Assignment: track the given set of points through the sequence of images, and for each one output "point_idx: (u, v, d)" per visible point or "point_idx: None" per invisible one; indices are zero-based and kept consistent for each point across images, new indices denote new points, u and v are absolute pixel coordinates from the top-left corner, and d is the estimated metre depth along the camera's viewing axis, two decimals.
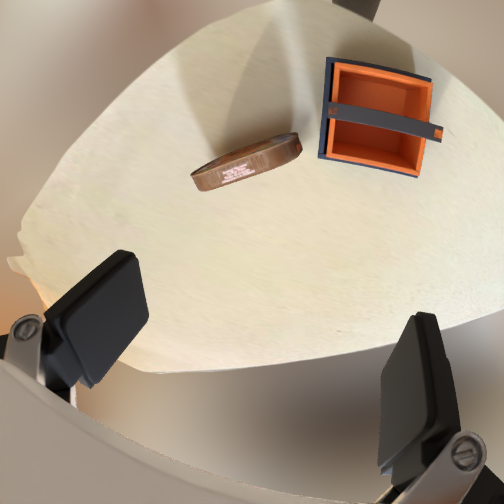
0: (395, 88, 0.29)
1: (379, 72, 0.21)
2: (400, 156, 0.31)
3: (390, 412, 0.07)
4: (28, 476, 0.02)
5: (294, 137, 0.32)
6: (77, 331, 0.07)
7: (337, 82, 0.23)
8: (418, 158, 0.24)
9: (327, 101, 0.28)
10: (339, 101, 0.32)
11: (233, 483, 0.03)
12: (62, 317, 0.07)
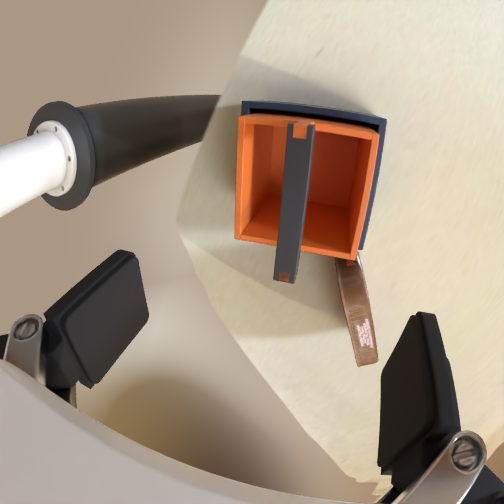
0: (274, 130, 0.28)
1: (239, 188, 0.21)
2: None
3: (390, 412, 0.07)
4: (28, 476, 0.02)
5: (337, 266, 0.28)
6: (77, 331, 0.07)
7: (259, 239, 0.23)
8: (353, 135, 0.17)
9: None
10: None
11: (233, 483, 0.03)
12: (62, 317, 0.07)
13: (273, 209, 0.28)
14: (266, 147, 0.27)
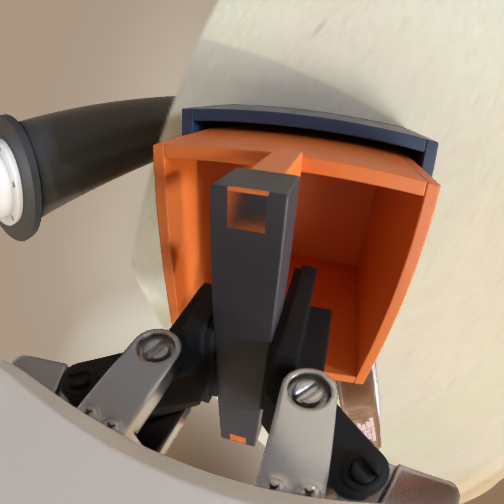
0: None
1: (169, 273, 0.12)
2: None
3: None
4: (28, 476, 0.02)
5: None
6: None
7: None
8: (386, 186, 0.08)
9: None
10: None
11: (233, 483, 0.03)
12: (206, 329, 0.07)
13: None
14: None
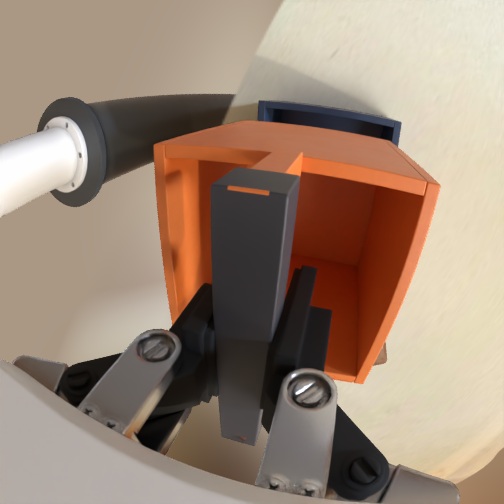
0: None
1: (169, 273, 0.12)
2: None
3: None
4: (28, 476, 0.02)
5: None
6: None
7: None
8: (386, 186, 0.08)
9: None
10: None
11: (233, 483, 0.03)
12: (206, 329, 0.07)
13: None
14: None
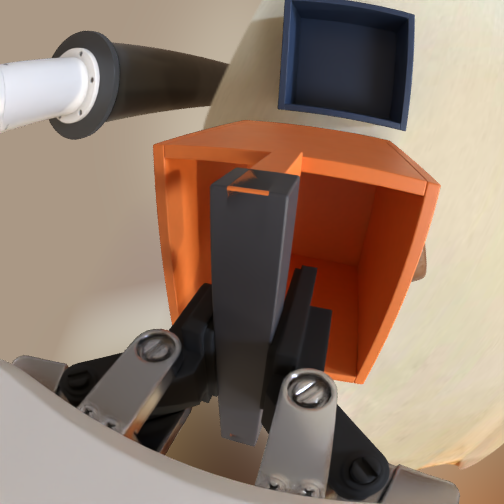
0: None
1: (169, 273, 0.12)
2: None
3: None
4: (28, 476, 0.02)
5: None
6: None
7: None
8: (386, 185, 0.08)
9: (335, 111, 0.23)
10: None
11: (233, 483, 0.03)
12: (206, 329, 0.07)
13: None
14: None
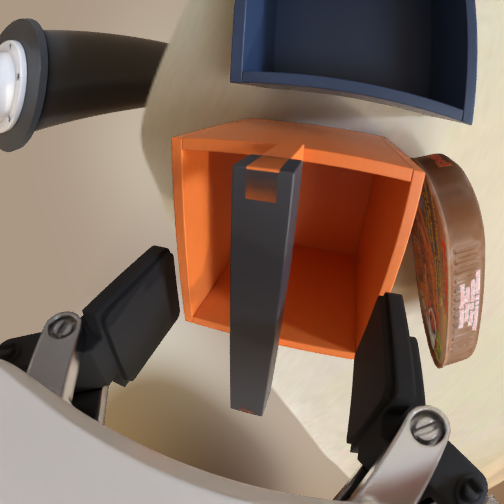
0: None
1: (183, 255, 0.13)
2: None
3: (358, 390, 0.08)
4: (28, 476, 0.02)
5: (422, 167, 0.13)
6: (117, 328, 0.07)
7: (219, 325, 0.15)
8: (377, 173, 0.09)
9: (341, 81, 0.11)
10: None
11: (233, 483, 0.03)
12: (103, 313, 0.07)
13: None
14: None
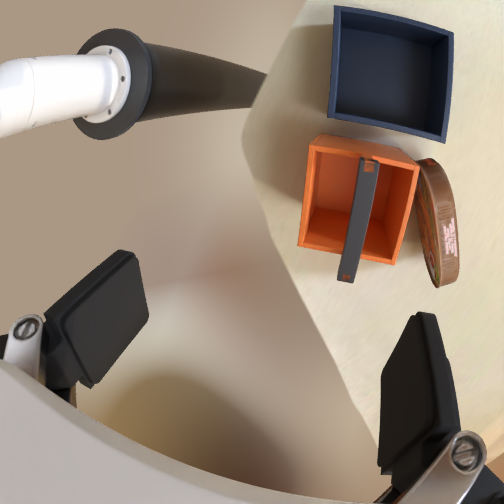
0: None
1: (306, 204, 0.26)
2: None
3: (390, 412, 0.07)
4: (28, 476, 0.02)
5: (420, 165, 0.25)
6: (77, 331, 0.07)
7: (319, 246, 0.27)
8: (400, 166, 0.21)
9: (382, 122, 0.23)
10: (341, 210, 0.35)
11: (233, 483, 0.03)
12: (62, 317, 0.07)
13: (323, 220, 0.32)
14: (318, 166, 0.31)
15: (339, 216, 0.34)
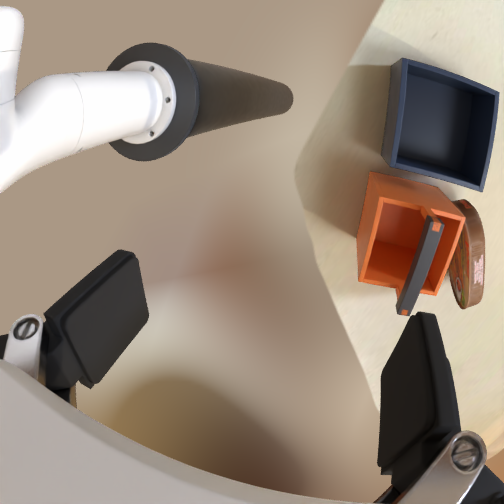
0: None
1: (370, 247, 0.28)
2: None
3: (390, 412, 0.07)
4: (28, 476, 0.02)
5: (459, 208, 0.27)
6: (77, 331, 0.07)
7: (377, 282, 0.29)
8: (450, 217, 0.24)
9: (434, 173, 0.25)
10: (383, 241, 0.37)
11: (233, 483, 0.03)
12: (62, 317, 0.07)
13: (371, 253, 0.34)
14: None
15: (383, 247, 0.36)
